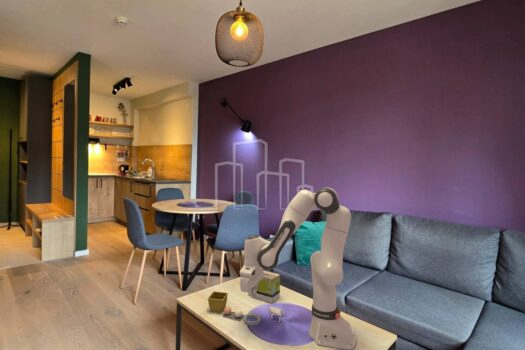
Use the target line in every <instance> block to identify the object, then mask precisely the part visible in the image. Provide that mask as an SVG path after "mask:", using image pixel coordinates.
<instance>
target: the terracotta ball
mask: <svg viewBox="0 0 525 350" xmlns="http://www.w3.org/2000/svg"><path fill="white" fill-rule="evenodd" d="M231 311H232V308H231V307H230V306H225V308H224V309H223V313H224V314H226V315H228V314H230V313H231Z"/></svg>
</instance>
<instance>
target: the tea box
mask: <svg viewBox="0 0 525 350" xmlns="http://www.w3.org/2000/svg"><path fill="white" fill-rule="evenodd" d="M263 273H264V276H263V279H262V280H261V281H259V282H258V287H257V292H256V294H255V295H254V296H251V298H254V299H257V300H260V301H263V302H266V303H270V304H273V303H274V302H276V301H278V299H280V297H281V294H280V293H281V274H280V273H276V272H272V271H269V270H265V269H263ZM253 288H254V287H253Z"/></svg>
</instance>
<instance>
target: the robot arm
mask: <svg viewBox="0 0 525 350" xmlns="http://www.w3.org/2000/svg"><path fill="white" fill-rule="evenodd" d="M316 208H318V209H319V210H320V211H322V212H324V213H325V214H326V215H327V216H326V221H325V225H324V229H323V232H322V235H321V239H320V244H321V247H320V250H317V251H314V252H313V253H312V254H311V256H310V267H311V269H310V270H311V281H312V288H313V289H312V294H313V295H312V304H311V323H310V327H309V329H308V335H309V337H310V338H311V339H312V340H314V342H315V344H317V345H318V346H322V347H328V348H335V349H340V350H353V349H355V347H356V345H357V342H358V341H357V340H358V339H357V334H356V333H355V332H354V331H353V330H352V326H351V324H350V322H349V321H347V320H346V319H345V318H344V317H343V316H342V315H341V307H339V308H338V307H337V288H336V286H338V285H339V284H340V283H341V282H342V281H343V280H344V271H343V269H344V268H343V265H344V264H343V262H344V261H343V260H344V251H345V246H346V241H347V238H348V233H349V230H350V225H351V218H352V213H351V211H350V209H349V208H347V207H346V206H343V205H341V204H340V203H339V196H338V193H337V191H336V190H335V189H333V188H331V187H327V186H326V187H322V188H319V189H317V191H316V192H312V191H310V190H309V189H301V190H299V191H298V193H296V195H294V196H293V198H292V199H291V200H290V202H289V204H288V205H287V206H286V209H285V210H284V212H283V215H282V218H281V220H280V221H281V222H280V224H279V228H278V230H277V232H276V234H275V235H274V237H273V238H272V240H271V241H269V240H267V239H265V238H264V237H262V236H260V235H258V234H255V235H254V234H253V235H250V236H247V237H246V238H245V240H244V247H243V248H244V249H243V250H244V251H243V253H244V260H243V266H242V267H241V269H240V270H239V275H240V278H239V279H240V281H239V287H240V291H241V292H243V293H247V296H248V297H252V295H253V292H252V291H251V290H252V288H253V287H254V288H255V289H256V291H257V287H258V282H259V281H261V280H262V279H263V276H264V273H263V270H265V271H269V270H273V269H275V268H276V267H277V265H278V264H279V257H280V253H281V252H282V250H283V249H284V248H285V246H286V244H287V243H288V241H289V240H290V238H291V237H292V236H293V235H294V233H295V232H296V231H297V230H298V229H299V228H300V227H301V226H302V225H303V223H304V222H305V221H306V219H308V217H309V215H310V214H311V212H313V210H314V209H316Z"/></svg>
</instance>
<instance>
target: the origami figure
mask: <svg viewBox="0 0 525 350" xmlns="http://www.w3.org/2000/svg"><path fill="white" fill-rule="evenodd" d="M268 312H269V314H271V313H272V314H271V315H270V317H271V318H272V320H274V318H273V316H274V315H276V316H278V317H279V319H278V322H279V323H280V322H281V317H283V315H285V312H284V311H283V310H282V309H281V308H277V307H274V306H269V308H268Z"/></svg>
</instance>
